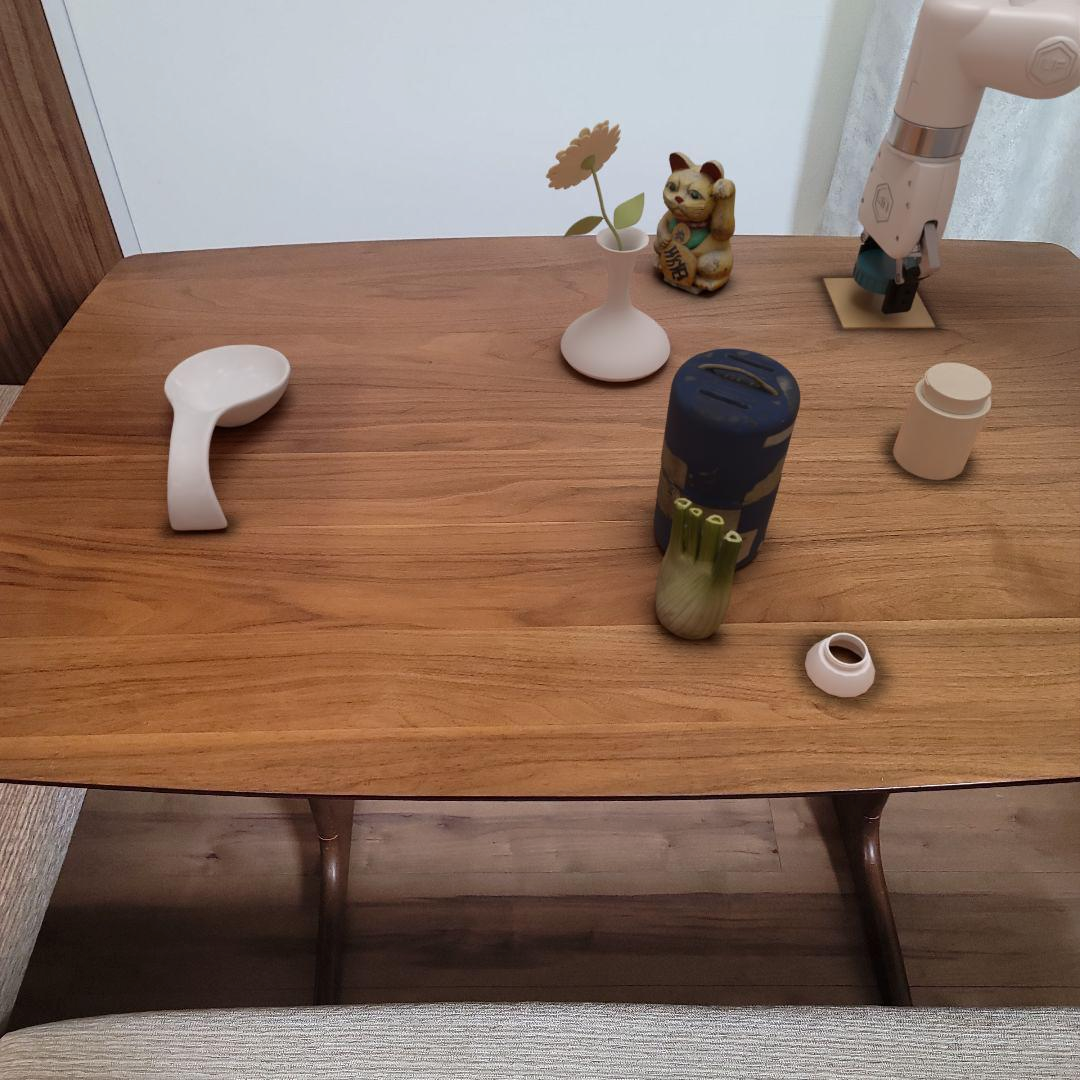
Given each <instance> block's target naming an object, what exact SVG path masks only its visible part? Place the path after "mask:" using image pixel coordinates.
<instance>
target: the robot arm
mask: <svg viewBox="0 0 1080 1080" xmlns="http://www.w3.org/2000/svg"><path fill="white" fill-rule="evenodd" d="M903 69H904V70H903V72H902V77H901V81H900V84H899V88H898V92H897V96H896V100H895V103H894V107H893V110H892V114H891V117H890V122H889V125H888V129H887V131H886V133H885V134H884V136H883V138H882V140H881V142H880V145H879V146H878V149H877V152H876V154H875V156H874V159H873V161H872V165H871V166H870V170H869V173H868V176H867V179H866V182H865V185H864V188H863V192H862V195H861V199H860V202H859V205H858V209H857V219H858V222H859V224H860V225H861V226H862V227H863V230H862V231H861V233H860V237H859V238H860V242H861V244H860V247H859V250H858V254H857V258H858V256H859V255H860V254H861V253H863V252H865V251H867V250H871V249H883V250H884V251H885V252H886V253H887V254H888V255H889V256H890V257H891V258H894V259H896V268H895V279H890V282H889V285H888V289H887V292H886V295H885V298H884V302H883V305H882V309H881V311H882V312H883V313H884V314H893V313H902V312H908V311H910V309H911V307H912V304H913V301H914V298H915V295H916V292H917V293H918V289H919V285H920V283H924V281H925V279H927V278H929V277H930V276H931V275H934V274H935V273H937V272H938V271H940V270H941V268H942V263H941V262H942V261H941V255H940V249H939V246H940V244H941V242H942V239H943V237H944V233H945V230H946V227H947V224H948V221H949V218H950V214H951V210H952V208H953V207H952V206H953V204H954V203H953V202H954V199H955V195H956V191H957V185H958V182H959V181H958V180H959V175H960V169H961V165H962V160H961V158H963V156H964V154H965V151H966V148H967V145H968V142H969V139H970V137H971V133H972V130H973V127H974V124H975V121H976V119H977V116H978V112H979V110H980V106H981V103H982V100H983V97H984V94H985V91H986V88H989V89H992V90H995V91H1000V92H1002V93H1006V94H1010V95H1014V96H1016V97H1017V96H1018V97H1020V98H1024V99H1030V100H1051V99H1052V100H1053V99H1057V98H1059V97H1063V96H1066V95H1068V94H1070V93H1071V92H1074V91H1075V90H1077V89H1078V88H1079V87H1080V0H923V2H922V4H921V7H920V10H919V14H918V17H917V20H916V24H915V28H914V32H913V36H912V40H911V44H910V47H909V51H908V55H907V59H906V62H905V66H904V68H903ZM916 246H917V249H916V250H914V248H915V247H916ZM857 258H856V259H857ZM906 258H915V266H914V267H911V268H909V269H907V270H906V261H907V259H906ZM856 262H857V260H856V261H855V263H856Z"/></svg>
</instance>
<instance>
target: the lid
mask: <svg viewBox="0 0 1080 1080" xmlns="http://www.w3.org/2000/svg"><path fill="white" fill-rule="evenodd" d="M857 257H858V258H856V261H857V262H856V261H855V262H854V266H853V271H852V278H854V280H855V282H856V283H857V284H858V285H859V286H861V287H862V288H864V289H865V290H868V291H870V292H873V293H877V294H881V295H886V292H887V289H888V285H889V282H890V279H895V268H896V259H894V258H891V257H890V256H889V255H888V254H887V253H886V252H885V251H884V250H883V249H871V250H867V251H865V252H863V253H861V254H860V255H859V256H858V255H857ZM906 259H907V261H906V270H907V269H909V268H911V267H914V266H915V259H916V258H906Z"/></svg>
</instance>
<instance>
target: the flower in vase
mask: <svg viewBox="0 0 1080 1080" xmlns="http://www.w3.org/2000/svg"><path fill="white" fill-rule="evenodd" d="M609 125H610V120H609V119H605V120H604V121H602V122H598V123H596V124H595V125H594V126H593V129H592V131H591V130H590V127H587V126H585V127H583V128H581V130H580V131H579V133H578V137H574V138H573V139H572V140H570V142H569V146H567V148H566V149H565V148H564V149H561V150H559V151H558V152H557V153H556V154H555V159H556V160H557V161H558V163H556V164H554V165H552V166H551V167H549V169H548V171H547V173H546V176H545V178H546V179H549V181H550V182H549V183H548V185H547V187H548V188H549V189H552V188H554V191H555V190H556V191H559V190H561V189H562V188H563V190H568V189H570V188H571V187H576V186H578V185H579V184H581V183H582V182H583V181H586V180H587V179H589V178H590V177H591V176H592V178H593V182H594V184H595V188H596V193H597V197H598V202H599V207H600V211H601V214H602V216H600V215H588V216H585V217H583V218H581V219H579V220H577V221H576V222H574V223H573V224H572V225H571V226H570V227H569V228H568V229H567V231H566V232H565V234H564V235H563V239H564V238H567V237H572V236H573V237H574V236H583V235H587V234H590V233H591V232H592V231H594V229H596V228H597V227H598V226H599V225H600V224H601V223H602V221H603V220H604V221H605V223H606V224H607V226H608V227H605V228H603V229H601V230H599V231H598V232H597V234H596V236H595V241H596V243H597V245H598V246H599V247H600V249H601V251H602V252H603V254H604V257H605V260H606V266H607V267H606V268H607V294H606V298H605V301H604V302H603V304H602V305H600V306H599V307H597V308H594V309H592V310H590V311H588V312H586V313H584V314H582V315H580V316H579V317H578V318H577V319H575V320H574V321H573V322H571V323H569V326H567V328H566V329H565V330H564V333H563V336H562V337H561V340H560V351H561V354H562V356H563V357H564V359H565V361H567V363H568V365H570V366H571V368H573V369H574V370H576V371H577V372H579V373H580V374H582V375H584V376H586V377H589V378H592V379H595V380H599V381H604V382H605V381H606V382H614V383H616V382H617V383H618V382H619V383H620V382H630V381H636V380H640V379H643V378H645V377H648V376H650V375H652V374H653V373H655V372H657V371H658V370H659V369H661V367H662V366H663V365H664V364H665V363H666V362H667V360H668V358H669V357H670V354H671V344H670V340H669V337H668V335H667V332H666V331H665V329H663V327H662V326H661V325H660V324H659V323H658V322H657V321H656V320H654V319H653V318H652V317H651V316H649V315H648V314H646V313H645V312H643V311H641V310H639V309H637V308H636V307H634V305H633V303H632V300H631V285H632V278H633V272H634V270H635V269H634V268H635V265H636V262H637V259H638V257H639V256H640V255H641V253H642V251H643V250H644V249H645V248H646V247H647V246H648V245H649V242H650V237H649V235H648V234H647V233H646V232H645V231H644V230H642V229H640V228H638V227H634V225H636V224H638V223H639V222H640V220H641V219H642V216H643V213H644V208H645V192H641V193H639V194H636V196H634V197H632V198H630V199H628V200H625V201H623V202H622V203H620V204H619V205H617V206H616V207H615V209H614V211H613V224H612V222H611V221H610V219H609V217H608V215H607V213H606V209H605V205H604V198H603V195H602V191H601V187H600V183H599V179H598V176H597V172H599V171H600V170H601V169H602V168H603V167H604V164H605V163H607V162H608V161H609V160H610V158H611V157H612V155H614V153H616V151H617V150H618V147H619V146H618V143H619V141H620V140H621V136H620V134H621V133H622V132H621V129H620V124H619V123H616V124H614V125H613V126H612V127H611V128H610V126H609Z"/></svg>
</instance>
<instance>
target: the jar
mask: <svg viewBox="0 0 1080 1080" xmlns="http://www.w3.org/2000/svg"><path fill="white" fill-rule="evenodd" d="M992 389H993V385H992V382H991V380H990V378H989V377H988V376H987V375H986V374H985V373H984V372H983V371H981V370H979V369H977V368H975V367H973V366H971V365H968V364H965V363H961V362H960V363H959V362H948V361H947V362H940V363H937V364H935V365H933V366H931V367H929V368H928V369H927V370H926V371H925V373H924V375H923V378H921V379H920V380H919V381H918V382H917V383H916V385H915V387H914V390H913V393H912V395H911V398H910V401H909V404H908V406H907V410H906V412H905V414H904V417H903V420H902V423H901V426H900V428H899V431H898V434H897V437H896V439H895V441H894V445H893V449H892V452H893V458H894V459H895V461H896V462H897V464H898V465H899V466H900V467H902V469H904V470H905V471H907V472H908V473H910V474H912V475H915V476H917V477H919V478H924V479H926V480H933V481H942V480H950V479H952V478H955V477H956V476H959V475H960V474H961V473H962V472H963V471H964V469H965V466H966V464H967V462H968V459H969V458H970V455H971V453H972V450H973V449H974V446H975V444H976V442H977V439H978V437H979V434H980V433H981V430H982V428H983V427H984V423H985V422H986V419H987V416H988V415H989V412H990V410H991V407H992V399H991V395H992Z"/></svg>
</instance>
